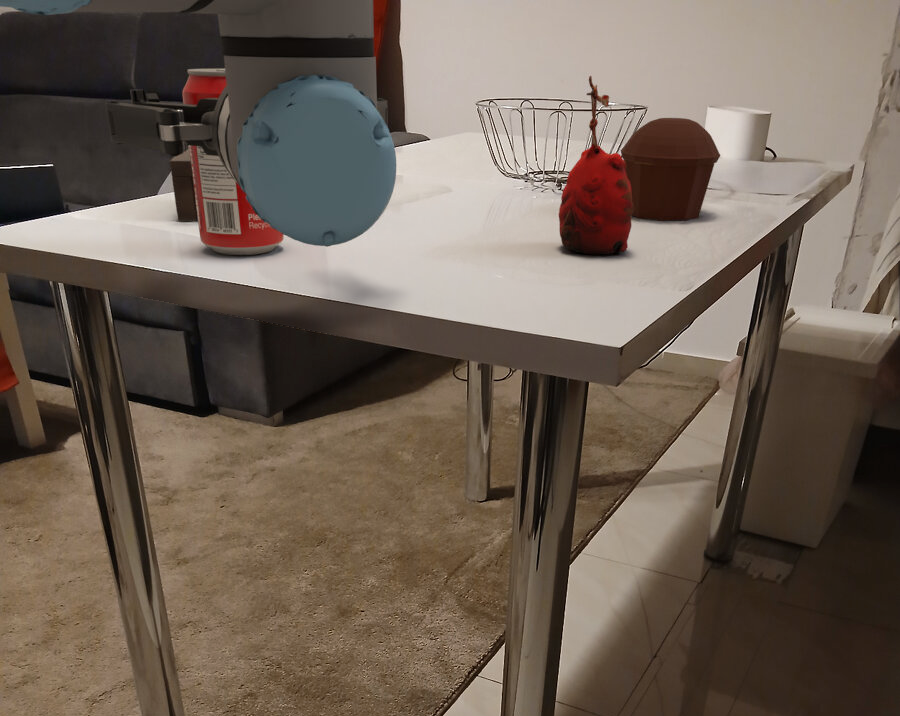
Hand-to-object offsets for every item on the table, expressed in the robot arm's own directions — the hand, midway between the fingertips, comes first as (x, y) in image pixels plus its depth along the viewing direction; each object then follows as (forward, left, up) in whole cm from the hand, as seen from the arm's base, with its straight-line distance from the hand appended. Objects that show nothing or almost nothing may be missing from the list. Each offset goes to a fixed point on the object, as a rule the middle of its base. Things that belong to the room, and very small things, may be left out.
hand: (241, 112), depth 72 cm
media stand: (-1, +32, -12) cm, 34 cm away
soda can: (-2, +10, -13) cm, 16 cm away
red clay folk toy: (+32, +8, -13) cm, 35 cm away
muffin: (+46, +28, -13) cm, 55 cm away
